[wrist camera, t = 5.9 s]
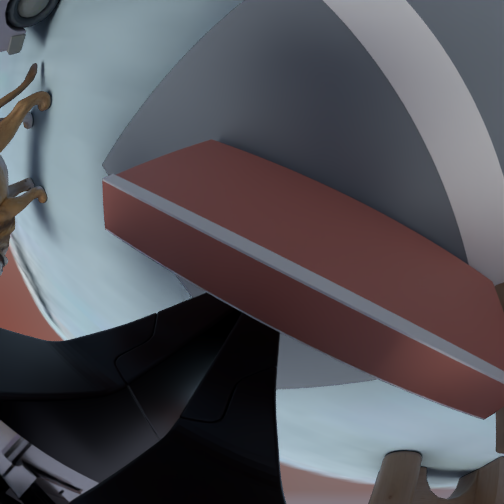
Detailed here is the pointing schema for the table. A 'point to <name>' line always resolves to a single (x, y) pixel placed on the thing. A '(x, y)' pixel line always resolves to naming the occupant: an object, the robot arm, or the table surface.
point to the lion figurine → (3, 196)
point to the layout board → (351, 119)
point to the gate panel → (317, 270)
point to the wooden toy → (417, 488)
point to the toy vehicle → (20, 20)
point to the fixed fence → (503, 414)
